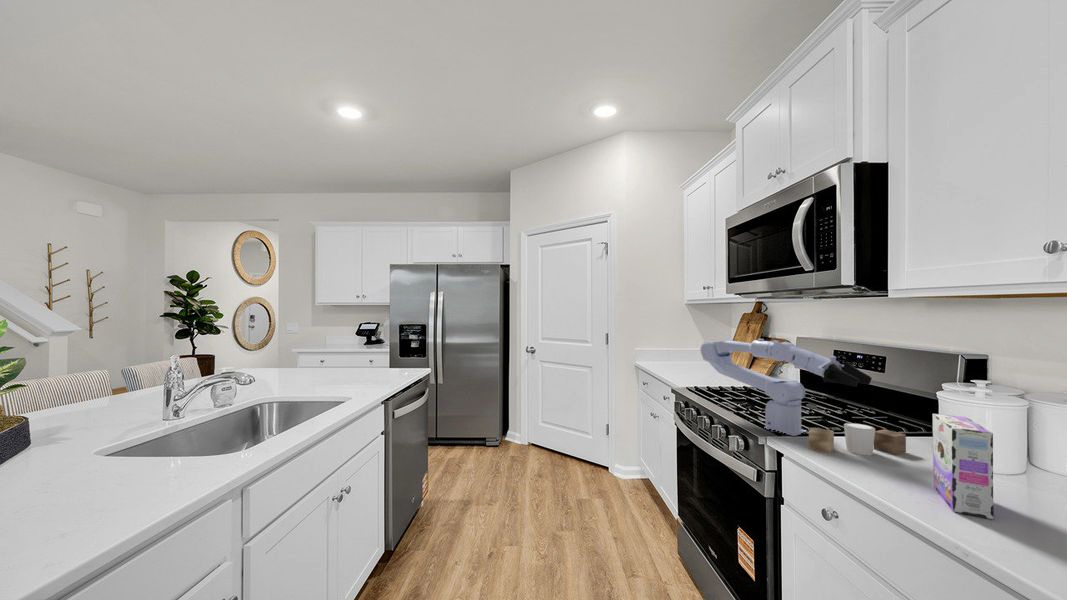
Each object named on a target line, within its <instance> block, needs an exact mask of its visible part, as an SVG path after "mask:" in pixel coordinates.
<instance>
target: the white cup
mask: <svg viewBox="0 0 1067 600" xmlns="http://www.w3.org/2000/svg"><path fill="white" fill-rule="evenodd" d="M843 428H844V436H845V446H846V451H848V452H849V453H852V454H856V455H862V456H872V455H873V453H874V436H875V431H876V428H875V427H873V426H872V425H871V426H870V425H867V424H862V423H856V422H854V423H853V422H846V423H844V424H843Z"/></svg>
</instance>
